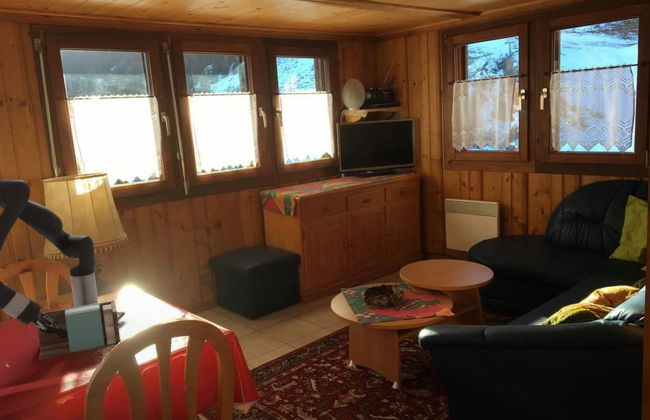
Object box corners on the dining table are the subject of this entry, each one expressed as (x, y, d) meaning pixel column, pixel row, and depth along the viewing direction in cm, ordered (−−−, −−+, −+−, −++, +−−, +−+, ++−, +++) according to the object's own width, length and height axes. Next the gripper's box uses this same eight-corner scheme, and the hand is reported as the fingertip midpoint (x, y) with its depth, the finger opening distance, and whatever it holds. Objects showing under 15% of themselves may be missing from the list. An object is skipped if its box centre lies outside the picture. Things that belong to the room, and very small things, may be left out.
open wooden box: (41, 349, 197) (35, 310, 195) (118, 334, 208) (113, 297, 205) (39, 363, 186) (33, 323, 183) (120, 347, 196) (116, 308, 193)
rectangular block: (70, 347, 194) (65, 309, 191) (103, 341, 198) (99, 304, 196) (70, 352, 190) (64, 313, 188) (104, 345, 195) (99, 307, 192)
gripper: (28, 305, 179) (73, 333, 186) (31, 293, 191) (74, 320, 198) (11, 323, 177) (58, 351, 185) (15, 310, 189) (59, 337, 196)
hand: (66, 335), depth 191 cm, fingers closed
